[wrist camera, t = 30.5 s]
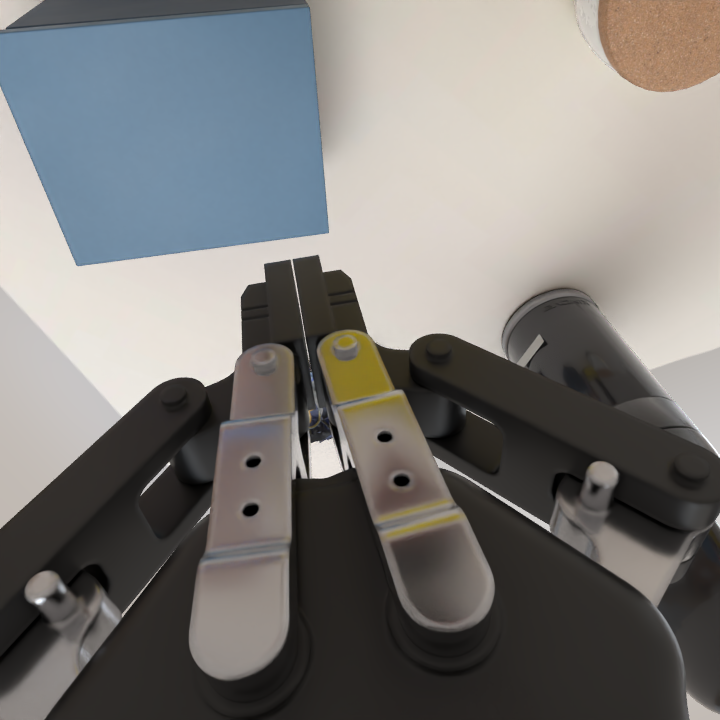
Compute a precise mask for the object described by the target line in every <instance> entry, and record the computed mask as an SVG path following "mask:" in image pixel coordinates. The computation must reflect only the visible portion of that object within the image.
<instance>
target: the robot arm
mask: <svg viewBox="0 0 720 720" xmlns="http://www.w3.org/2000/svg"><path fill="white" fill-rule="evenodd" d="M293 264H294V270H295V276H296V282H297V288H298V294H299V300H300V306H301V313H302V319H303V325H304V331H305V337H306V342H307V347H308V353H309V358H310V364H311V369H312V374H313V380H314V385H315V390H316V396H317V401H318V407H319V408H324V407H326V408H327V413H328V418H329V424H330V430H331V434H332V438H333V441H334V445H335V448H336V452H337V455H338V459H339V462H340V466H341V469H342V472H340V473H338V474H336V475H333V476H331V477H328V478H324V479H312V467H311V443H310V432H309V424H310V419H309V412H308V411H309V410H314V409H316V404H315V398H314V392H313V386H312V380H311V374H310V368H309V362H308V355H307V349H306V343H305V337H304V331H303V325H302V319H301V314H300V308H299V303H298V297H297V292H296V287H295V281H294V276H293V271H292V265H291V260H286V261H280V262H273V263H267V264H264V268H265V279H266V282H264V283H258V284H252V285H248V286H247V288H246V290H245V291H244V293H243V294H242V296H241V310H242V311H241V318H242V354H241V355H240V356H239V358H238V359H237V361H236V364H235V371H234V372H233V373H232V374H231V375H230V376H228V377H227V378H225V379H223V380H221V381H219V382H217V383H214V384H212V385H209V386H207V387H204V385H203V384H202V383H201V382H200V381H198V380H196V379H193V378H175V379H172V380H169V381H166V382H164V383H162V384H160V385H158V386H157V387H155V388H154V389H153V390H152V391H151V392H150V393H148V394H147V395H146V396H145V397H144V398H143V399H142V400H141V401H140V402H139V403H138V404H136V405H135V406H134V407H133V408H132V409H131V410H130V411H129V412H128V413H127V414H125V415H124V416H123V417H122V418H121V419H120V420H119V421H118V422H117V423H116V424H115V425H114V426H112V427H111V428H110V429H109V430H108V431H107V432H106V433H105V434H104V435H103V436H101V437H100V438H99V439H98V440H97V441H96V442H95V443H94V444H93V445H92V446H91V447H90V448H89V449H87V450H86V451H85V452H84V453H83V454H82V455H81V456H80V457H79V458H78V459H76V460H75V461H74V462H73V463H72V464H71V465H70V466H69V467H68V468H66V469H65V470H64V471H63V472H62V473H61V474H60V475H59V476H58V477H57V478H56V479H54V480H53V481H52V482H51V483H50V484H49V485H48V486H47V487H46V488H45V489H44V490H42V491H41V492H40V493H39V494H38V495H37V496H36V497H35V498H34V499H33V500H32V501H30V502H29V503H28V504H27V505H26V506H25V507H24V508H23V509H22V510H21V511H20V512H18V513H17V514H16V515H15V516H14V517H13V518H12V519H11V520H10V521H9V522H7V523H6V524H5V525H4V526H3V527H2V528H1V529H0V720H689V714H688V707H687V699H686V692H687V693H688V694H689V695H690V696H691V697H692V698H694V699H695V700H696V701H697V702H698V703H700V704H701V705H703V706H704V707H706V708H707V709H709V710H711V711H713V712H716V713H718V714H720V527H719V525H718V524H717V522H716V521H715V520H716V518H717V516H718V515H719V513H720V455H719V454H718V452H717V451H716V450H715V448H714V447H713V446H712V445H711V444H710V442H709V441H708V440H707V439H706V438H705V436H704V435H703V434H702V433H701V432H700V431H699V429H698V428H697V427H696V426H695V425H694V423H693V422H692V421H691V420H690V419H689V418H688V416H687V415H686V414H685V413H684V412H683V410H682V409H681V408H680V407H679V406H678V405H677V403H676V402H675V401H674V400H673V399H672V397H671V396H670V395H669V394H668V393H667V391H666V390H665V389H664V388H663V387H662V385H661V384H660V383H659V382H658V380H657V379H656V378H655V377H654V376H653V374H652V373H651V372H650V371H649V370H648V368H647V367H646V366H645V365H644V364H643V362H642V361H641V360H640V359H639V358H638V356H637V355H636V354H635V353H634V352H633V350H632V349H631V348H630V347H629V346H628V344H627V343H626V342H625V341H624V340H623V338H622V337H621V336H620V335H619V334H618V332H617V331H616V330H615V329H614V328H613V326H612V325H611V324H610V323H609V321H608V320H607V319H606V318H605V317H604V315H603V314H602V313H601V312H600V310H599V308H598V307H597V305H596V304H595V303H594V302H593V300H592V299H591V298H590V297H589V296H588V295H586V294H584V293H582V292H580V291H577V290H572V289H560V290H554V291H550V292H547V293H544V294H541V295H539V296H537V297H535V298H533V299H531V300H530V301H528V302H527V303H525V304H524V305H523V306H522V307H521V308H519V309H518V310H517V311H516V312H515V314H514V315H513V316H512V317H511V319H510V320H509V322H508V323H507V325H506V327H505V330H504V333H503V337H502V346H503V350H504V353H505V355H506V356H507V358H508V360H506V359H504V358H502V357H500V356H497V355H495V354H493V353H491V352H488V351H486V350H484V349H482V348H480V347H477V346H475V345H473V344H471V343H468V342H466V341H464V340H462V339H459V338H457V337H455V336H452V335H448V334H430V335H426V336H423V337H421V338H419V339H417V340H416V341H415V342H414V343H413V344H412V345H411V347H410V349H409V350H395V349H389V348H385V347H382V346H380V345H378V344H376V343H375V342H374V341H373V339H372V338H371V337H370V336H369V335H368V333H367V330H366V326H365V323H364V320H363V317H362V313H361V310H360V307H359V303H358V301H357V297H356V293H355V290H354V287H353V283H352V280H351V278H350V277H349V276H347V275H346V274H345V273H344V272H343V271H341V270H336V271H330V272H324V273H323V272H322V267H321V263H320V259H319V255H316V256H310V257H304V258H297V259H293ZM466 409H467V410H469V411H471V412H473V413H475V414H477V415H479V416H481V417H482V418H484V419H486V420H488V421H490V422H492V423H493V424H492V423H490V422H488V421H486V420H484V419H482V418H480V417H478V416H476V415H474V414H473V413H471V412H469V411H467V410H466ZM433 456H435V457H436V458H438V459H440V460H442V461H443V462H445V463H447V464H448V465H450V466H452V467H453V468H455V469H457V470H458V471H460V472H462V473H463V474H465V475H467V476H468V477H470V478H472V479H473V480H475V481H477V482H479V483H480V484H482V485H484V486H485V487H487V488H489V489H490V490H492V491H493V492H495V493H497V494H499V495H500V496H502V497H503V498H505V499H507V500H508V501H510V502H512V503H513V504H515V505H517V506H518V507H521V508H522V509H523V510H525V511H527V512H529V513H530V514H532V515H534V516H535V517H537V518H539V519H540V520H542V521H544V522H545V523H547V524H549V525H550V531H551V533H550V532H549V531H547V530H546V529H544V528H542V527H541V526H539V525H538V524H536V523H535V522H533V521H532V520H530V519H529V518H527V517H526V516H524V515H522V514H521V513H519V512H518V511H516V510H515V509H513V508H512V507H510V506H508V505H507V504H505V503H504V502H502V501H501V500H499V499H497V498H496V497H495V496H493V495H491V494H490V493H488V492H487V491H485V490H483V489H482V488H480V487H479V486H477V485H476V484H474V483H473V482H471V481H470V480H468V479H466V478H465V477H463V476H461V475H459V474H456V473H454V472H451V471H448V470H446V469H442V468H438V465H437V463H436V461H435V459H434V457H433ZM168 462H170V466H169V467H168V468H167V469H166V470H165V471H164V472H163V473H162V474H161V475H160V476H159V477H158V478H157V479H156V480H155V482H154V483H153V484H152V485H151V486H150V487H149V488H148V489H147V490H146V491H145V492H144V493H143V494H142V495H141V493H142V491H143V489H144V488H145V487H146V486H147V484H148V483H149V482H150V481H151V480H152V479H153V478H154V477H155V476H156V475H157V474H158V473H159V472H160V471H161V469H162V468H164V466H165V465H166V464H167V463H168ZM140 495H141V496H140ZM210 507H211V508H210ZM209 508H210V514H208V515H207V516H206V517H205V518H203V519H202V520H201V521H200V522H199V523H197V522H198V521H199V520H200V519H201V517H202V516H203V515H204V514H205V513H206V511H207V510H208V509H209ZM194 526H195V527H194ZM193 527H194V528H193ZM192 528H193V529H192ZM174 550H175V551H174ZM173 551H174V552H173ZM170 555H171V556H170ZM169 556H170V557H169ZM167 559H168V560H167ZM166 560H167V561H166ZM165 561H166V562H165ZM164 562H165V563H164ZM163 564H164V565H163ZM162 565H163V566H162ZM161 566H162V567H161ZM160 567H161V569H160V570H159V568H160ZM158 570H159V571H158ZM157 571H158V573H157V574H156V575H155V576H154V574H155V573H156V572H157ZM153 576H154V578H153V579H152V580H151V582H150V583H149V584H148V586H147V587H146V588H145V589H144V591H143V592H142V593H141V595H140V596H139V597H138V598H137V600H136V601H135V602H134V604H133V605H132V606H131V607H130V609H129V610H128V611H127V612H126V614H125V615H124V617H123V618H122V613H123V612H124V611H125V610H126V608H127V607H128V606H129V605H130V604H131V602H132V601H133V600H134V599H135V598H136V596H137V595H138V594H139V593H140V591H141V590H142V589H143V588H144V587H145V585H146V584H147V583H148V582H149V581H150V579H151V578H152V577H153Z"/></svg>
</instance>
